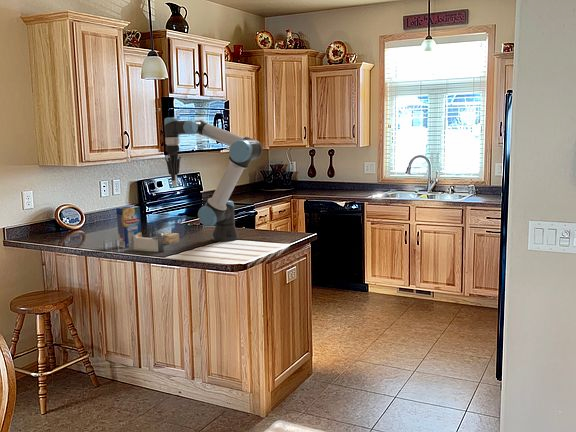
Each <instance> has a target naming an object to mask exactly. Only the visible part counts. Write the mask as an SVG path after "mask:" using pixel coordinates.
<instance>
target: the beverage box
mask: <svg viewBox="0 0 576 432" xmlns="http://www.w3.org/2000/svg"><path fill="white" fill-rule="evenodd" d="M140 208H141V207H140V206H137V205H128V206H123V207H116V208H115V209H116V210H115V211H116V221H117V224H116V225H117V235H118V247H120V248H125V249H127V248H128V249H129V240H128V232H134V236H135V235H138V237H143V235H142V234H143V233H142V222H141V221H142V220H141V209H140Z"/></svg>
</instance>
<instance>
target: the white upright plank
mask: <svg viewBox="0 0 576 432" xmlns="http://www.w3.org/2000/svg"><path fill="white" fill-rule="evenodd" d="M133 237H134V249H142V250H158V240H157V236H152V237H143V236H142V237H138V235H135V236H133Z"/></svg>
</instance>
